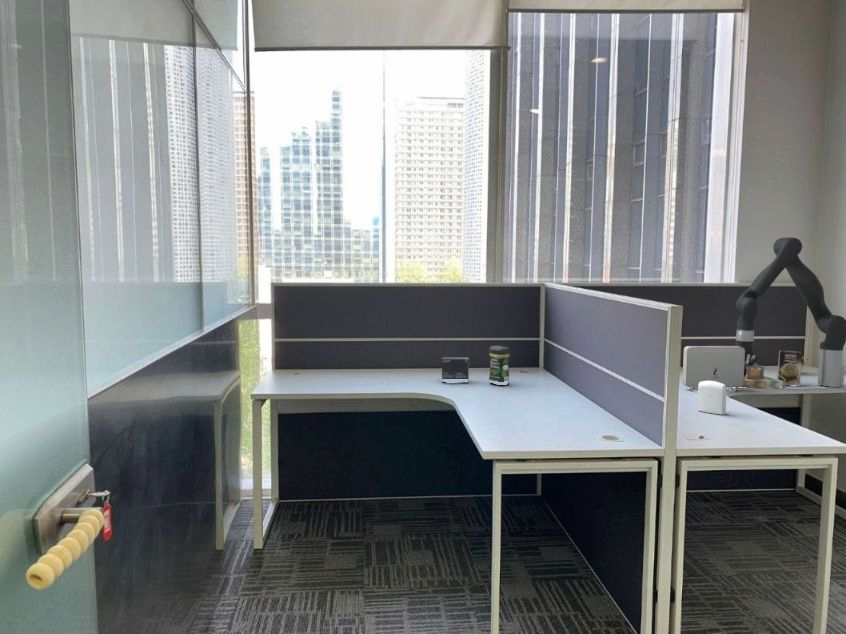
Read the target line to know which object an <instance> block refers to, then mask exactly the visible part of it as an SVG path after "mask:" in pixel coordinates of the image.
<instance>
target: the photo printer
mask: <svg viewBox="0 0 846 634" xmlns="http://www.w3.org/2000/svg"><path fill="white" fill-rule="evenodd" d="M697 390H698V392H697V411H698V412H701V411H702V413H708V414H716V415H721V416H725V415H726V407H727V392H726V391H727V389H726V385H724V384H722V383H720V382H716V381H702V382H700V383H699V385H698V389H697Z"/></svg>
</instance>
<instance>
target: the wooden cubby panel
mask: <svg viewBox="0 0 846 634" xmlns="http://www.w3.org/2000/svg"><path fill="white" fill-rule="evenodd" d="M742 387H747V388H746V389H781V388H780V387H782V388H783V381H781V380H779V379H778V378H776V377H774V376H771V375H768V374H764V380H750V379H747V377H744V381H743V386H742Z"/></svg>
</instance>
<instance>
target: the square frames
mask: <svg viewBox="0 0 846 634" xmlns="http://www.w3.org/2000/svg"><path fill="white" fill-rule="evenodd" d="M747 367H748V368H747V369H748V376H747V379H750V380H764V375H765V366H764V365H758V363H756V362H755V363H754V364H753V365H752V366H747ZM751 369H760V370H761V377H751ZM744 377H746V375H745V376H744Z"/></svg>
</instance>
